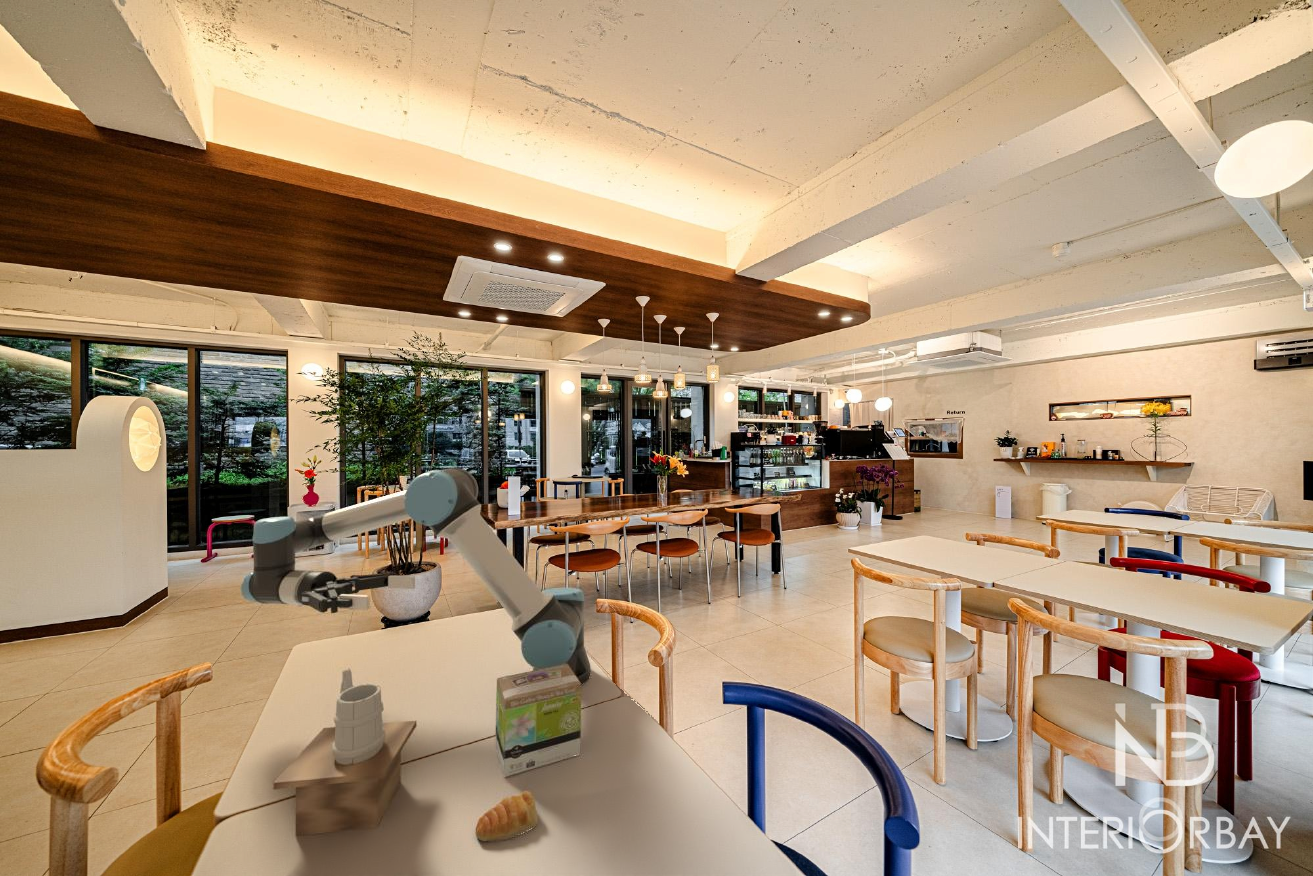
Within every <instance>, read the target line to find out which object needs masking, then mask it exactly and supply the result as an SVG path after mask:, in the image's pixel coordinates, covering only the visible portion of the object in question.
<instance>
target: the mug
mask: <svg viewBox="0 0 1313 876" xmlns="http://www.w3.org/2000/svg"><path fill="white" fill-rule="evenodd" d="M335 705H336V706H335V707H336V709H335V713H334V715H333V721H334V724H335V726H334V727H335V741H334V742H333V744H332V754H333V755H334V760H335V761H336V762H337V763H338V764H342V765H350V764H352V763H353V764H356V763H360V762H363V761H365V760H367V759H369V758H371V757H373V756H374V755H376V753H378V752H379V750H380V749H381V748H382V746H383V741H384V739H385V730H384V728H383V727H382V723H383V712H384V707H385V706H384V703H383V700H382V688H381V687H380V685H378V684H375V683H364V684H358V685H355V686H354V684H353V674H352V670H351V669H350V668H347V669H344V670H342V681H341V685H340V690H339V694H338V696H337V697H336V704H335Z"/></svg>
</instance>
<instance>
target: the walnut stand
mask: <svg viewBox="0 0 1313 876" xmlns="http://www.w3.org/2000/svg"><path fill="white" fill-rule="evenodd" d="M417 723H418V722H417V720H407V721H395V722H392V721H391V722H382V727H383V728H384V730H385V739H384V741H383V746H382V748H381V749H380V750H379V752H378V753H376V755H374V756H373V757H371V758H369V759H367V760H365V761H363V762H360V763H356V764H353V763H352V764H350V765H342V764H338V763H337V762H336V761H335V760H334V755H333V754H332V744H333V742H334V741H335V726H334V727H333V726H331V727H324V728H322V730H320V732H319V733H318V734H316V735H315V737H314V738H313V739H312V740H311V741H310V742H309V743H308V745H306V747H305V748H304V749H303V750H302V751H301V752H300V753H299V754H298V755H297V756H296V758H294V760H293V761H292V762H291V763H289V765H288V766H287V767H286V769H284V771H283V772H282V773H281V774H280V775H279V776H278V777H277V778H276V779H275V781H274V782H273V783H272V784H273V786H272V787H273V789H272V790H281V789H289V788H290V789H291V788H295V835H294V836H297V837H298V836H306V835H313V834H314V835H315V834H323V833H332V832H333V833H334V832H343V831H350V830H352V831H353V830H359V829H360V830H361V829H370V828H371V829H372V828H376V827H378V825H379V823H380V821H381V820H382V818H383V816H384V814H385V812H386V810H387V809H388V807H389V805H390V803H391V802H392V800H393V798H394V796H395V794H396V792H397V791H398V789H399V788H400V785H401V783H402V751H403V749H404V748H405V746H406V744H407V742H408V741H409V739H410V737H411V736H412V734H413V732H414V731H415V729H416V728H417Z"/></svg>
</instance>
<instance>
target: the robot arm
mask: <svg viewBox="0 0 1313 876" xmlns="http://www.w3.org/2000/svg"><path fill="white" fill-rule="evenodd" d="M478 495H479V486H478V483H477V480H476V478H475V477H474V476H473V475H472V473H471V472H469V471H467V470H465V469H463V468H457V467H452V468H451V467H449V468H445V469H440V470H439V469H433V470H429V471H426V472H424V473H422V474H420V475H418V476H416V477H415V478H413V479H412V480H411V482H409V484H408V486H407V487H406V489H405V490H401V491H398V492H394V493H391V494H388V495H385V496H384V495H383V496H381V497H377V498H374V499H369V500H368V501H367V500H366V501H364V502H360V503H357V504H353V505H351V506H347V507H343V508H339V509H337V510H334V511H333V510H332V511H330V512H326V513H322V514H319V515H315V516H311V517H309V518H305V519H301V520H297V521H296V520H295V519H294V518H293V517H291V516H275V517H274V516H273V517H268V518H267V517H266V518H261V519H259V520H257V521H255V522H254V524H253V534H252V535H253V536H252V545H253V546H252V547H253V548H252V549H253V550H252V551H253V570H252V571H250V572H249V573H248V574H247V575H246V576H245V577H244V579H243V581H242V583H241V586H240V592H241V595H242V597H243V598H244V599H245V600H247V601H249V602H252V603H259V604H264V605H265V604H266V605H270V604H274V605H297V607H298V608H300V607H303V606H307V607H308V606H309V607H311V608H312V609H314V610H316V611H318V612H319V613H327V612H328V611H329V610H328V609H330V613H331V614H335V613H338V612H339V609H344V610H345V609H346V610H347V609H348V610H360V611H361V610H363V611H367V610H370V605H371V604H370V602H371V601H370V595H366V594H358V593H359V592H360V591H365V590H372V589H379V588H386V587H388V589H402V590H415V588H416V577H415V575H414V576H410V575H397V574H396V571H389V572H384V573H373V574H372V573H369V574H352V575H350V577H347V578H346V577H340V578H339V577H337V575H335V574H334V572H331V571H328V570H327V571H323V570H322V571H321V570H320V571H319V570H307V569H306V570H305V569H304V570H303V569H296V554H297V553H300V552H304V551H306V550H310V549H312V548H316V547H318V546H319V547H320V546H323V545H326V544H329V543H333V542H335V541H338V540H342V539H345V538H348V537H352V536H353V537H354V536H355V535H359V534H360V535H361V534H363V533H367V532H370V531H372V530H373V531H374V530H376V529H380V528H385V527H387V526H390V525H394V524H398V523H401V522H404V521H408V520H413V521H414V522H415V523H417V524H421V525H424V526H428V527H429V528H430V530H431V531H432V532H433V533H434V534H435V536H436V537H437V538H442V539H443V538H444V539H447V540H449V541H450V543H451V545H453V546H454V548H455V549H456V550H457V552H458V553H459V554H460V555H461V556H462V558H463V559H464V560H465V562H466V563H467V564H468V565H469V566H470V568H471V569H472V570H473V571H474V573H475V574H476V575H477V576H478V577H479V579H480V580H481V581H482V582H483V584H484V585H485V587H486V588H487V589H488V590H489V592H490V593H491V594H492V595H493V597H494V598H495V599H496V600H497V602H498V603H499V604H500V605H501V607H502V608H503V609H504V610H505V612H506V613H507V614H508V615H509V616H510V617H511V620H512V622H511V624H512V625H511V630H512V632H513V633H514V634H515V636H516V637H517V638H518V639H519V641H520V642H521V643H520V644H521V645H520V647H521V648H520V649H521V653H522V657H523V658H524V660H525V662H526V663H527V664H528V665H529V666H531V667H532V671H534V670H539V669H543V668H548V667H553V666H558V665H563V664H568V665H569V667H570V668H571V670H572V671H573V673H574V674H575V675H576V677H577V678H578V680H579V681H580V683H581V686H583V685H584V684H583V683H585V682H586V681H587V680H588V679H590V678H591V675H592V674H591V667H592V666H591V663H590V659H589V657H588V654H587V651H586V648H585V602H586V601H585V595H584V591H583V590H582V589H579V588H575V587H554V588H547V589H544V590H542V591H541V589H540V588H539V587H538V585H537V584H536V582H534V580H533V579H532V578H531V577H530V575H529V574H528V573H527V572H526V570H525V569H524V568H523V566H522V565H521V564H520V563H519V562H518V560H517V559H516V558H515V556H514V555H513V554H512V553H511V552H510V550H509V549H508V548H507V547H506V545H505V544H504V543H503V541H502V540H501V539H500V538H499V537H498V535H497V534H496V533H495V532H494V530H493V529H492V528H491V526H490V525H489V524H488V523H487V521H486V520H485V519H484V518H483V516H482V515H481V509H482V504H481V503H480V502H479V500H478V499H477V498H478ZM353 588H354V589H353ZM590 674H591V675H590ZM589 677H590V678H589ZM588 681H589V680H588ZM588 681H587V682H588ZM587 682H586V683H587ZM586 683H585V684H586ZM582 684H583V685H582Z"/></svg>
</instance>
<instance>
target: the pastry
mask: <svg viewBox="0 0 1313 876" xmlns="http://www.w3.org/2000/svg"><path fill="white" fill-rule="evenodd" d="M538 818H539V817H538V812H537V808H536V805H535V801H534V797H533V794H532V792H530V791H529V790H525V791H523V792H522V793H518V794H516V795H511V796H509V797H505V798H503V799H502V800H501V801H500V802H499V803H498V804H496V805H495V807H492V808H490V809H488V811H486V812H485V813H484V814H483V815H482V816H481V817H479V819H478V821H477V822H476V827H475V831H474V833H475V836H476V838H477V839H478V840H480V841H481V842H484V841H485V842H484V843H487V842H486V841H491V842H493V841H492V840H499V841H508V840H510V839H511V837H512V838H514V837H513V836H515V837H517V836H516V835H518V834H521V833H523V832H526V831H527V830H529V829H531V828H533V829H535V827H537V825H538V823H539V819H538ZM526 833H527V832H526ZM523 834H524V833H523ZM521 835H522V834H521ZM518 836H519V835H518ZM507 839H508V840H507Z"/></svg>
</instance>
